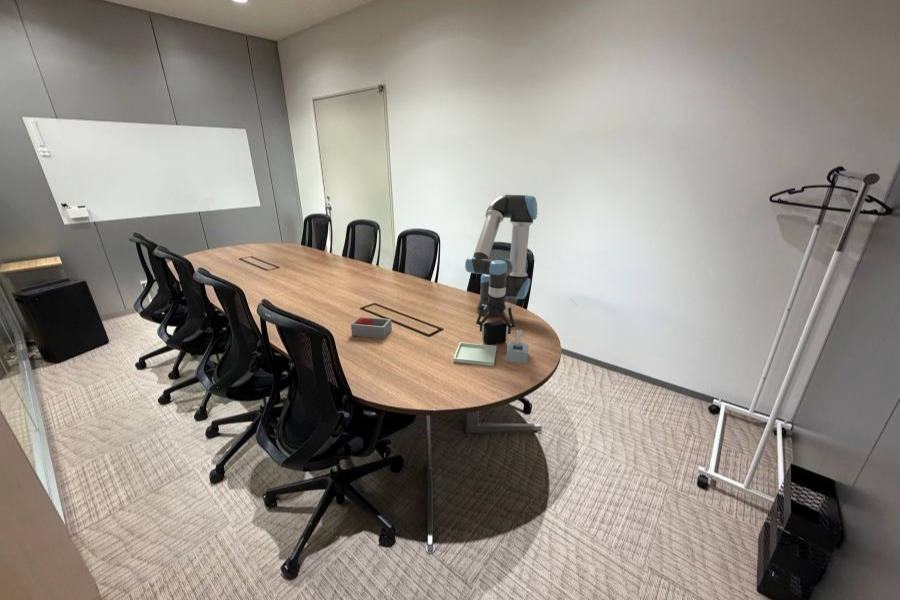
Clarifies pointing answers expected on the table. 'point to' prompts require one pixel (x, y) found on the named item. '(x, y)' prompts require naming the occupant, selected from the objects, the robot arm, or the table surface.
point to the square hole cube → (517, 353)
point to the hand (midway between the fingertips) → (494, 338)
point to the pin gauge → (518, 339)
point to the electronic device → (494, 332)
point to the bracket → (364, 321)
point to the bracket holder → (372, 328)
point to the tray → (475, 354)
